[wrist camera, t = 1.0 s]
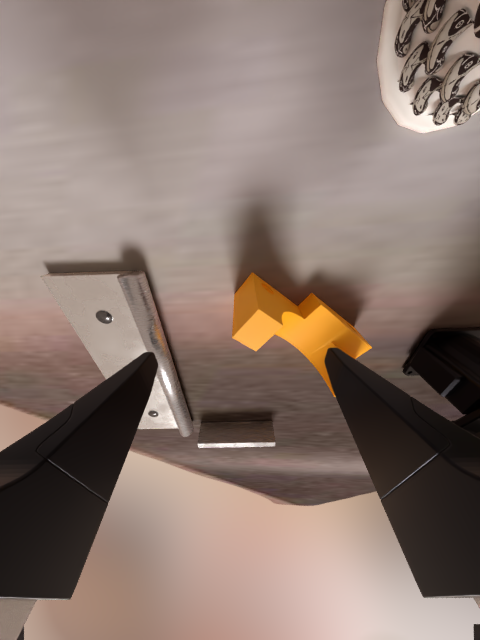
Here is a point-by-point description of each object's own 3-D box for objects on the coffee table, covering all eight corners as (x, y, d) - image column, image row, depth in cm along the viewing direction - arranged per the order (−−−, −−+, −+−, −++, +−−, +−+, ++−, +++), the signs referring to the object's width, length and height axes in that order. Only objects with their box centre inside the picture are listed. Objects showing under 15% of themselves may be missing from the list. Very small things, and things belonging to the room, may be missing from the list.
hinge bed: (291, 266, 15) (301, 278, 13) (271, 425, 29) (274, 446, 27) (48, 273, 16) (12, 287, 13) (142, 427, 29) (133, 449, 27)
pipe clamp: (353, 326, 19) (398, 377, 14) (320, 351, 21) (348, 404, 16) (265, 254, 15) (280, 285, 10) (234, 293, 17) (232, 337, 12)
